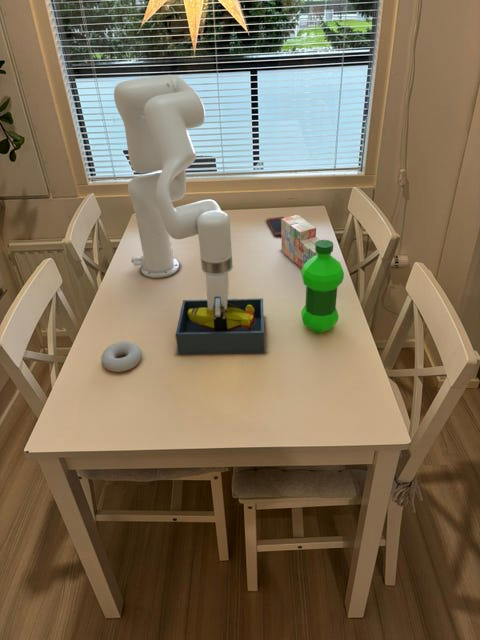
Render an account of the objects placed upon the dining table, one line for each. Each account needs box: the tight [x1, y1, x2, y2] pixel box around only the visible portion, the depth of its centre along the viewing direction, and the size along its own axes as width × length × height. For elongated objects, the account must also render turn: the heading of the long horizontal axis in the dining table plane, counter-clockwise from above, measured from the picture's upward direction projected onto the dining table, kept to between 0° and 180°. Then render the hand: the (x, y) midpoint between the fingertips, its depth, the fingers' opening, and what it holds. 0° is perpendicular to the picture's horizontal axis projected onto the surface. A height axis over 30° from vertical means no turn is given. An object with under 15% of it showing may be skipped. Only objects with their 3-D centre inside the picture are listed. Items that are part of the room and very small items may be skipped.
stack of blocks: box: [280, 214, 332, 269], centre depth 155 cm, size 21×6×12 cm, turn 23°
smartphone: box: [266, 216, 285, 237], centre depth 180 cm, size 7×1×15 cm
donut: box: [101, 341, 142, 373], centre depth 120 cm, size 10×3×10 cm
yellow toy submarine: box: [188, 303, 256, 331], centre depth 124 cm, size 6×18×10 cm, turn 79°
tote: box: [175, 297, 265, 355], centre depth 126 cm, size 22×15×7 cm
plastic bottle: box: [300, 239, 345, 334], centre depth 122 cm, size 10×10×25 cm
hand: (221, 321), depth 125 cm, fingers closed on yellow toy submarine, 6 cm apart
